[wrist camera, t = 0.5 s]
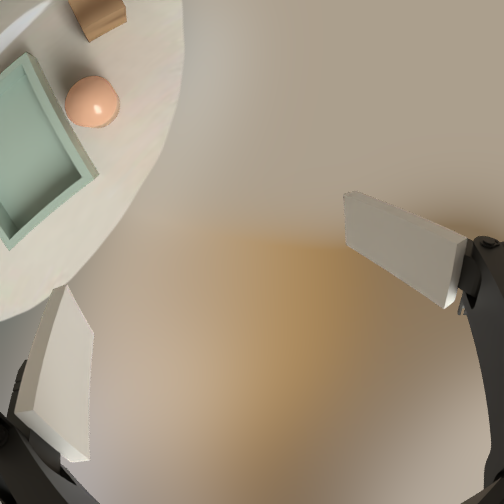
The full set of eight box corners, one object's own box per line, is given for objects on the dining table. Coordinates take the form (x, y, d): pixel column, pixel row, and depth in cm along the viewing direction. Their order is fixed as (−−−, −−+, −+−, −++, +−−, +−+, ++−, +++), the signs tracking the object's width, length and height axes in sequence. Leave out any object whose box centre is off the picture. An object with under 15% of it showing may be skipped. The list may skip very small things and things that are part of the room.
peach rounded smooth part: (72, 103, 26) (57, 96, 20) (108, 79, 27) (101, 66, 21) (91, 136, 29) (79, 136, 23) (127, 112, 29) (123, 107, 23)
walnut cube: (75, 15, 21) (67, 0, 17) (112, -5, 22) (109, -22, 18) (89, 42, 24) (82, 29, 19) (126, 22, 24) (125, 6, 20)
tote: (-40, 132, 20) (-55, 133, 17) (36, 59, 22) (26, 51, 18) (20, 239, 29) (9, 251, 26) (99, 174, 31) (94, 179, 27)
